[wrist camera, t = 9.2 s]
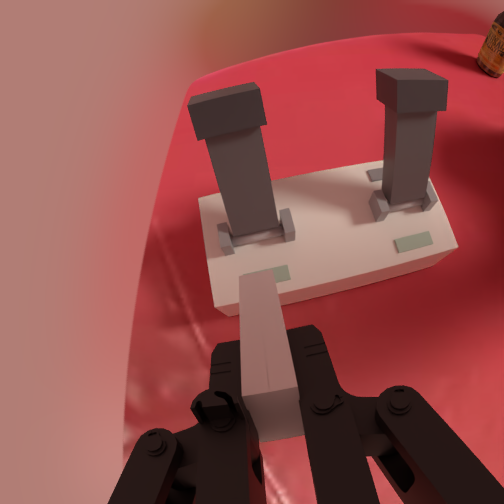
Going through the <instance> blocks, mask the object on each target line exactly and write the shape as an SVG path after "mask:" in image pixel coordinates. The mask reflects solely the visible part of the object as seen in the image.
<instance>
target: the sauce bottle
mask: <svg viewBox="0 0 504 504" xmlns="http://www.w3.org/2000/svg"><path fill="white" fill-rule="evenodd" d="M477 63H478V65H479V66H480V67H481V68H482V69H483V70H484V71H485V72H486V73H488V74H489V75H490V76H493V77H500V76H501V74H503V72H504V12H502V13H500V14H499V15H498V16H497V18H496V19H495V21H494V22H493V24H492V26H491V28H490V31H489V33H488V35H487V37H486V39H485V41H484V43H483V45H482V48H481V50H480V52H479V54H478V58H477Z"/></svg>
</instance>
